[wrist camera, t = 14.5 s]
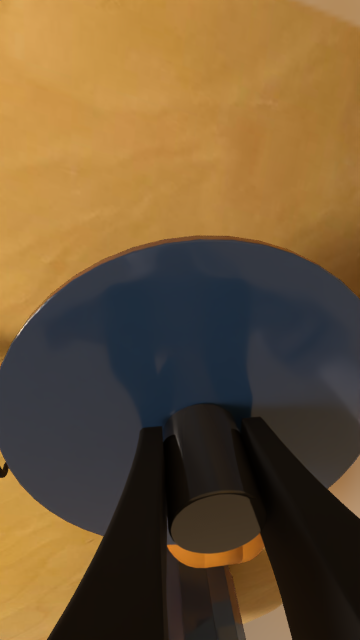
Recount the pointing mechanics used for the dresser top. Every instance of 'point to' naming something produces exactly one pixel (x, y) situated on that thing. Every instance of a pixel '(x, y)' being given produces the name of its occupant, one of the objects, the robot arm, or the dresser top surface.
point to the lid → (182, 382)
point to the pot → (201, 603)
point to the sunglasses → (4, 471)
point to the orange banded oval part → (218, 555)
